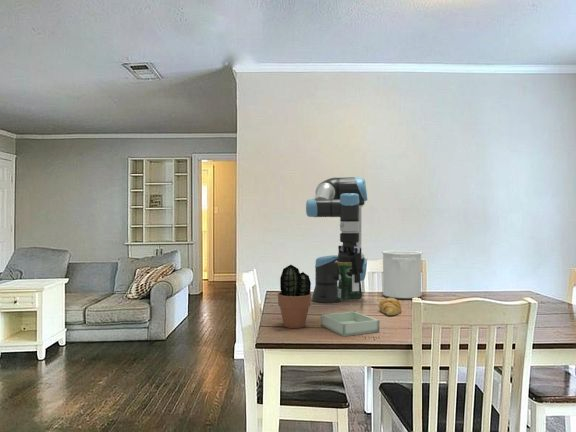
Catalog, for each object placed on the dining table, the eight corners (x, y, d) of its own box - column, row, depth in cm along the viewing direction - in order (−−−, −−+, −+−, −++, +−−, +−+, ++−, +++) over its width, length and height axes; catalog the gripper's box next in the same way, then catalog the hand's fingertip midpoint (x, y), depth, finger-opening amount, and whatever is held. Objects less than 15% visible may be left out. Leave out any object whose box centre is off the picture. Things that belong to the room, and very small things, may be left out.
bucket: (380, 292, 272) (380, 249, 271) (418, 293, 269) (419, 250, 268) (383, 300, 246) (383, 253, 246) (425, 301, 243) (425, 254, 243)
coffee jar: (358, 296, 191) (358, 251, 191) (364, 300, 184) (364, 252, 183) (335, 297, 190) (335, 251, 190) (339, 301, 182) (339, 253, 182)
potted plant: (300, 331, 183) (300, 267, 183) (271, 326, 190) (271, 265, 190) (317, 324, 195) (317, 263, 194) (289, 320, 202) (289, 262, 202)
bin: (321, 325, 192) (321, 314, 192) (354, 321, 199) (354, 311, 199) (343, 336, 176) (343, 324, 176) (379, 331, 182) (379, 320, 182)
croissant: (396, 325, 207) (405, 309, 206) (375, 313, 209) (384, 298, 208) (395, 313, 228) (403, 299, 227) (377, 303, 230) (385, 289, 229)
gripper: (328, 231, 195) (328, 286, 195) (355, 233, 176) (355, 294, 176) (344, 231, 198) (344, 285, 198) (372, 233, 179) (372, 292, 179)
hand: (349, 289), depth 187 cm, fingers closed on coffee jar, 8 cm apart
